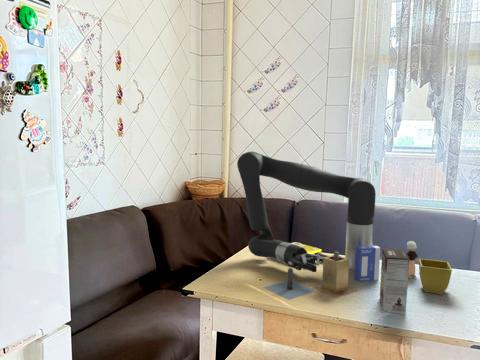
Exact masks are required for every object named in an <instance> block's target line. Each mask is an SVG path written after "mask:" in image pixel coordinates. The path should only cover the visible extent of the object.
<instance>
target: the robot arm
mask: <svg viewBox="0 0 480 360" xmlns="http://www.w3.org/2000/svg"><path fill="white" fill-rule="evenodd" d="M236 163H237V164H236V166H237V169H238V173H239V175H240V179H241V182H242V185H243V186H242V187H243V189H244V194H245V200H246V207H247V214H248V220H249V221H248V222H249V226H250V229H251V230H252V231H259V233H260V234H259V235H257V236H254V237H251V238H250V239H249V240H248V244H247V246H248V250H249V252H250V253H251V254H252V255H254V256H256V257H260V258H269V259H274V260H276V261H279V262H280V263H282V264H284V265H287V266H288V267H289V268H290V267H291V268H292V269H294V270H297V271H302V270H304V271H310V272H312V273H317V268H318V267H317V266H320V265H322V266H323V258H324V257H328V256H329V255H326V254H323V253H322V254H320V253H317V252H316V253H315V255H314V254H311V253H307V252H306V250H305V249H304V248H303V247H300V246H297V245H294V244H291V243H292V242H285V241H282V240H279V239H275V237H274V235H273V232H272V229H271V226H270V225H269V220H268V214H267V207H266V204H265V200H264V197H263V194H262V189H261V181H260V176H261V177H268V178H271V179H275V180H277V181H280V182H281V183H283V184H286V185H288V186H290V187H293V188H297V189H300V190H303V191H307V192H314V193H323V194H324V193H327V194H334V195H338V196H341V197H344V198H347V200H348V202H347V215H346V233H345V253H344V254H345V256H344V258H347V259H349V271H354V272H355V256H356V247H359V246H374V243H373V234H374V233H373V229H374V217H375V209H376V193H377V192H376V188H375V186H374V185H373V183H371V181H369V179H366V178H362V177H352V176H345V175H340V174H336V173H334V172H330V171H328V170H326V169H323V168H320V167H315V166H311V165H308V164H304V163H299V162H293V161H288V160H280V159H276V158H273V157H270V156H268V155H264V154H261V153H259V152H257V151H256V152H255V151H247V152H244V153H242V154H241V155H240V156H239V157H238V159H237V162H236ZM315 260H316V262H315Z"/></svg>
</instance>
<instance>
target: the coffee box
mask: <svg viewBox="0 0 480 360" xmlns="http://www.w3.org/2000/svg"><path fill="white" fill-rule="evenodd" d="M381 251H382V252H381V254H382V255H381V264H380V265H381V267H380V284H379V302H380V304H381V309H382V311H384V312H388V313H392V314H402V315H406V314H407V302H408V301H407V299H408V285H409V278H408V274H409V260H410V259H409V257H408V255H407V252H406V250H405V249H399V248H398V249H397V248H396V249H395V248H382V250H381Z"/></svg>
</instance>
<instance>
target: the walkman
mask: <svg viewBox="0 0 480 360" xmlns="http://www.w3.org/2000/svg"><path fill="white" fill-rule="evenodd" d="M380 256H381V247H380V246H378V245H373V246H359V247H356V256H355V271H354V280H355V281H357V282H371V281H372V282H373V281H379V279H380V265H381V264H380V260H381V257H380Z"/></svg>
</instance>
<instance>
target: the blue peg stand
mask: <svg viewBox="0 0 480 360" xmlns="http://www.w3.org/2000/svg"><path fill="white" fill-rule="evenodd" d="M293 278H294V268H292V267H291V268H290V267H289V268H288V269H287V280H285V281H281V282H277V283H273V284H271V285H270V284H269V285H267V286H263V288H264V289H266V290H268V291H270V292H272V293H274V294H276V295H278V296H280V297H283V298H285V300H293V299H296V298H300V297H302V296H306V295H308V294H313V293H316V292H317V289H314V288H311V287H308V286H306V285H304V284H302V283H300V282H299V283H298V282H297V281H294V280H293Z"/></svg>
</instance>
